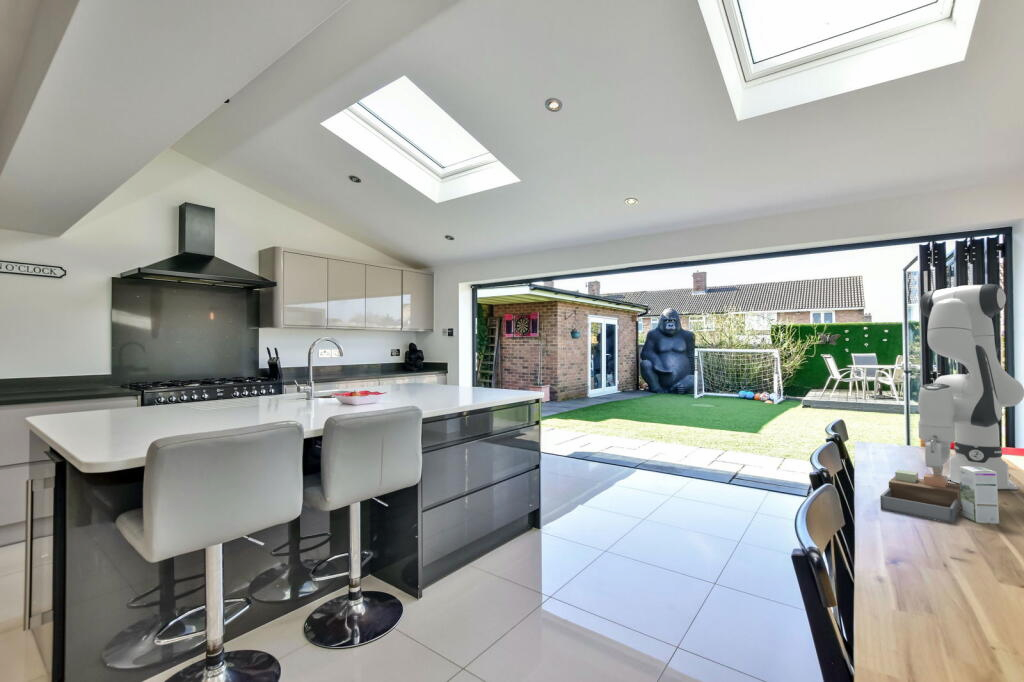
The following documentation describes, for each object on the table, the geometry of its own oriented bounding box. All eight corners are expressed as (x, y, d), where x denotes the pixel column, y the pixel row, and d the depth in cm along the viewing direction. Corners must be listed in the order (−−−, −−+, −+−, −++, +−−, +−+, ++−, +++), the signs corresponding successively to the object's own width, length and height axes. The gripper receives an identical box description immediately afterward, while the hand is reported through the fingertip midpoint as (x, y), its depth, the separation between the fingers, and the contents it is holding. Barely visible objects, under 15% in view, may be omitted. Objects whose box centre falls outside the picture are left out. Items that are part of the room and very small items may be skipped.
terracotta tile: (926, 481, 150) (926, 473, 150) (947, 484, 146) (947, 476, 146) (923, 484, 147) (923, 476, 147) (945, 487, 143) (945, 479, 143)
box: (889, 500, 149) (888, 488, 150) (958, 513, 137) (957, 499, 138) (880, 509, 141) (880, 496, 142) (953, 523, 129) (952, 508, 130)
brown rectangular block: (896, 492, 157) (896, 475, 157) (962, 504, 145) (961, 484, 146) (889, 500, 149) (888, 481, 150) (958, 513, 137) (957, 492, 138)
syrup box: (1000, 524, 129) (998, 471, 129) (975, 523, 130) (973, 470, 130) (984, 517, 134) (982, 466, 134) (960, 515, 135) (958, 465, 136)
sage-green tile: (898, 476, 155) (898, 469, 155) (918, 479, 151) (918, 472, 151) (895, 479, 152) (895, 472, 152) (915, 482, 148) (915, 475, 148)
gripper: (945, 439, 141) (946, 485, 141) (954, 432, 155) (955, 473, 154) (918, 437, 146) (919, 481, 146) (928, 429, 160) (929, 470, 159)
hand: (938, 477), depth 150 cm, fingers closed
